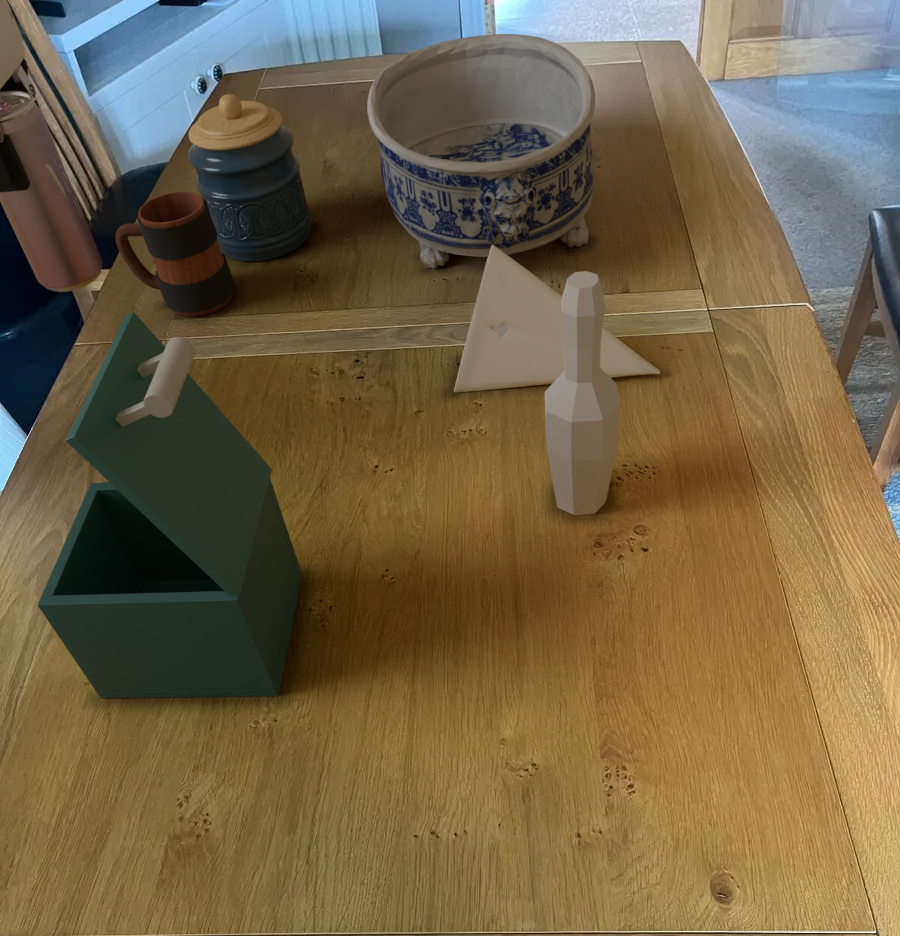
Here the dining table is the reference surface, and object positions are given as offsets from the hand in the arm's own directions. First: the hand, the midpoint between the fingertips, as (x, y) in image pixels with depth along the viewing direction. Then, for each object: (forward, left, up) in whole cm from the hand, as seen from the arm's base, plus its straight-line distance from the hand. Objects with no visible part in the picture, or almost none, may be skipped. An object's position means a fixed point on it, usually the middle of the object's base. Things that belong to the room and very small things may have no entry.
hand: (24, 168), depth 78 cm
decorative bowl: (+36, +41, -28) cm, 61 cm away
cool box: (+14, -28, -27) cm, 42 cm away
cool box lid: (+18, -28, -8) cm, 34 cm away
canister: (+7, +38, -28) cm, 47 cm away
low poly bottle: (+46, -13, -28) cm, 55 cm away
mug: (0, +24, -28) cm, 36 cm away
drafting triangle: (+44, +8, -28) cm, 52 cm away
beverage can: (0, 0, -10) cm, 10 cm away
